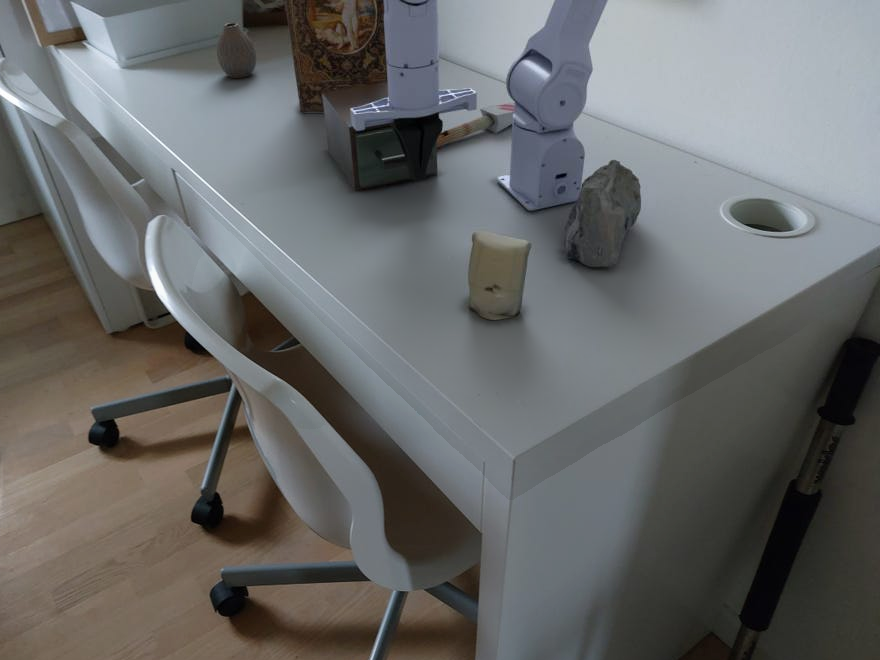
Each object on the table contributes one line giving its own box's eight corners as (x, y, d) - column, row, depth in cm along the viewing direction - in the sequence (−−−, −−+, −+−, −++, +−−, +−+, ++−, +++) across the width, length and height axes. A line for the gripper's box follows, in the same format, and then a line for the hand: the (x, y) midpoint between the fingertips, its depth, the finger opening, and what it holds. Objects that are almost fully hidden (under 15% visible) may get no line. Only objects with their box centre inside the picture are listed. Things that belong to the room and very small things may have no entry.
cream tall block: (517, 290, 74) (522, 222, 69) (532, 319, 70) (538, 249, 65) (463, 297, 74) (464, 229, 69) (475, 327, 70) (477, 257, 65)
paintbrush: (546, 96, 108) (439, 137, 100) (545, 114, 109) (440, 155, 102) (529, 89, 110) (423, 128, 103) (528, 107, 112) (425, 146, 105)
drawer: (448, 185, 92) (447, 134, 87) (371, 201, 89) (366, 149, 85) (405, 138, 104) (402, 91, 99) (336, 151, 102) (330, 103, 97)
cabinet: (437, 174, 96) (436, 111, 91) (355, 191, 94) (348, 127, 88) (403, 137, 106) (401, 79, 101) (328, 152, 104) (321, 92, 98)
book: (297, 113, 116) (271, -63, 100) (304, 101, 120) (280, -70, 104) (397, 111, 114) (387, -68, 98) (400, 99, 119) (391, -75, 103)
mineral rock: (619, 207, 87) (632, 126, 80) (685, 245, 79) (705, 160, 73) (532, 236, 82) (539, 153, 76) (593, 279, 75) (605, 192, 69)
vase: (217, 73, 134) (207, 23, 128) (253, 66, 136) (244, 17, 130) (226, 83, 129) (216, 32, 124) (263, 76, 131) (254, 25, 126)
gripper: (460, 40, 82) (460, 153, 91) (338, 59, 79) (350, 174, 87) (485, 57, 77) (482, 175, 85) (356, 79, 74) (366, 198, 82)
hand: (417, 176), depth 86 cm, fingers closed
